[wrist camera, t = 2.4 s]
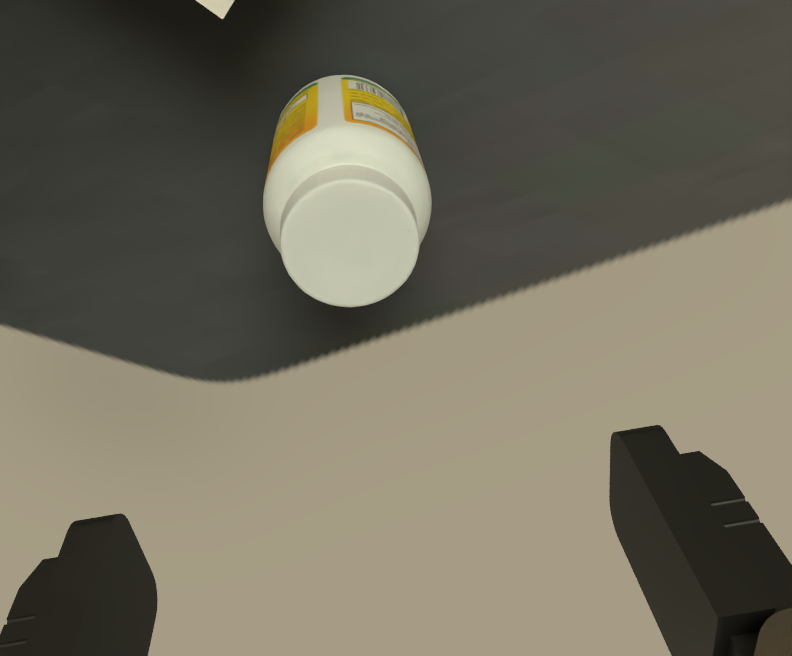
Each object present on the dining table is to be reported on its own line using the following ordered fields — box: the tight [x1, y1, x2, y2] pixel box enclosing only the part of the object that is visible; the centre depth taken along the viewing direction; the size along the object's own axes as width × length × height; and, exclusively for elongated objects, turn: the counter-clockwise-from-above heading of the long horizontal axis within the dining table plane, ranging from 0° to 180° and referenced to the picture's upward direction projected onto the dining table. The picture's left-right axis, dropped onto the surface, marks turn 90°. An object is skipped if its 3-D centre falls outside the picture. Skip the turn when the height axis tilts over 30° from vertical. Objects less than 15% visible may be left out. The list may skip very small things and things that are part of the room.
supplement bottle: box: [263, 75, 432, 307], centre depth 25 cm, size 5×5×10 cm
